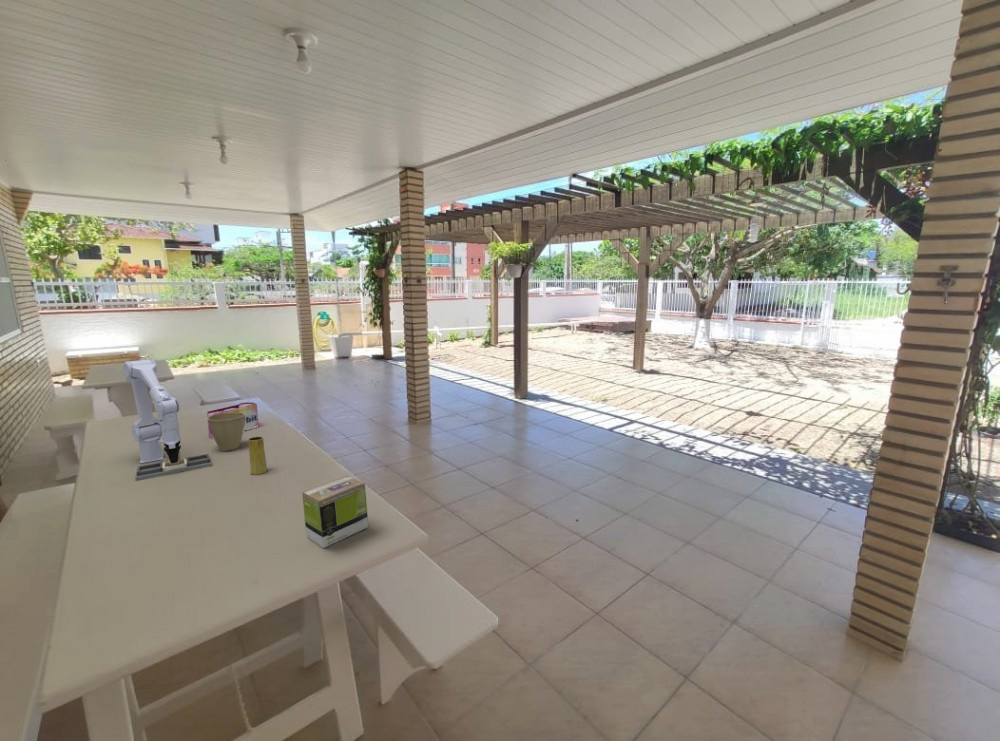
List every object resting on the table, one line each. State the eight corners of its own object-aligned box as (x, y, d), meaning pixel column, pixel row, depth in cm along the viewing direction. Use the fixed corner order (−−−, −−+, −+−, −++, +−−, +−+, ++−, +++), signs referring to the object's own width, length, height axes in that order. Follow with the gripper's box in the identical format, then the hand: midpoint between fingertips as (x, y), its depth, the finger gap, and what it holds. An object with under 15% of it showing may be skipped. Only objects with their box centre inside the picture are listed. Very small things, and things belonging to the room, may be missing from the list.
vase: (259, 475, 174) (256, 441, 171) (246, 474, 175) (243, 440, 172) (270, 469, 179) (267, 436, 177) (257, 468, 181) (254, 435, 178)
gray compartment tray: (137, 471, 177) (136, 465, 177) (210, 458, 192) (209, 452, 192) (135, 480, 169) (134, 474, 168) (212, 465, 184) (211, 460, 183)
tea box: (350, 518, 140) (348, 474, 138) (369, 528, 134) (366, 482, 131) (305, 537, 128) (301, 490, 126) (322, 549, 122) (319, 500, 120)
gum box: (216, 440, 217) (213, 413, 215) (206, 438, 221) (203, 412, 218) (259, 427, 239) (257, 403, 237) (249, 425, 242) (247, 402, 240)
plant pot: (235, 454, 197) (232, 420, 195) (203, 454, 198) (199, 420, 195) (254, 443, 212) (251, 411, 210) (224, 443, 212) (221, 411, 210)
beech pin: (168, 465, 181) (166, 451, 180) (181, 463, 183) (179, 449, 182) (168, 468, 177) (166, 454, 176) (181, 466, 180) (179, 452, 179)
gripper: (158, 426, 181) (162, 457, 183) (157, 435, 170) (162, 468, 172) (178, 423, 185) (182, 454, 188) (179, 431, 174) (184, 464, 176)
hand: (174, 460), depth 180 cm, fingers open, 6 cm apart
